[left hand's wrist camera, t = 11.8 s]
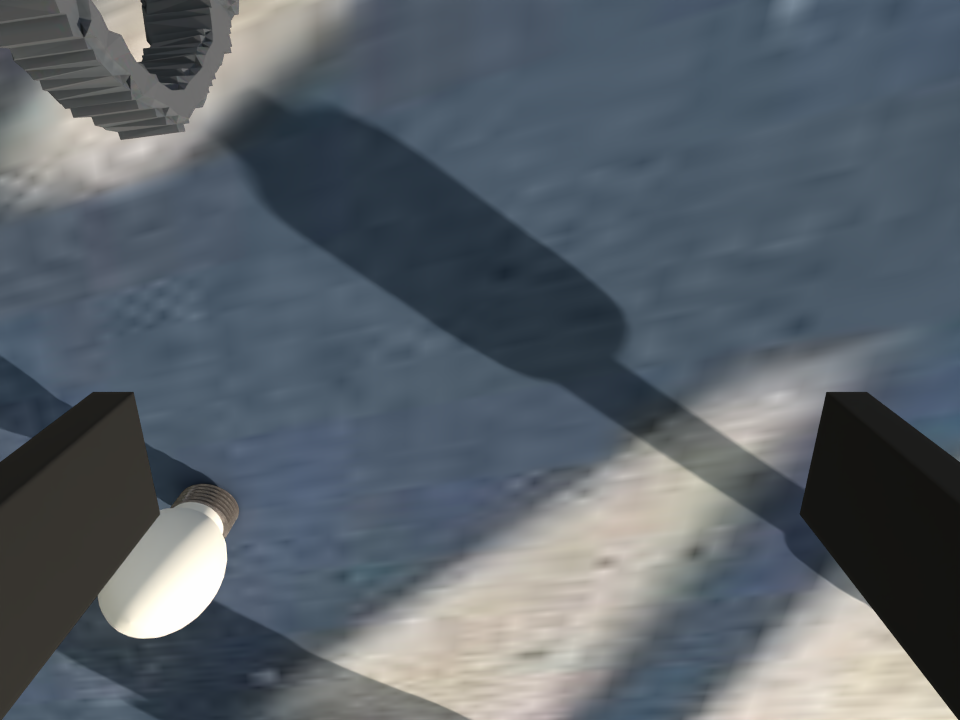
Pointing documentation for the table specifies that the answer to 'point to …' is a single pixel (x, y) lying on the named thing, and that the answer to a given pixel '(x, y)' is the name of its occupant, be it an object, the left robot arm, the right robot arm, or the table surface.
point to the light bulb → (172, 566)
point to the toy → (121, 59)
